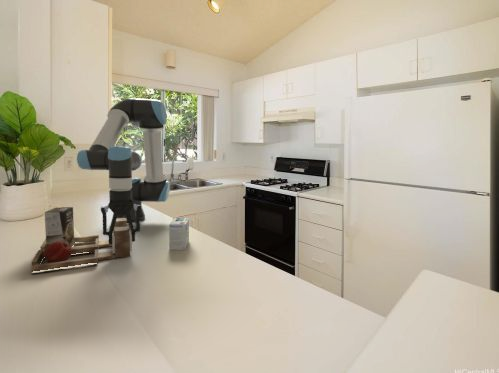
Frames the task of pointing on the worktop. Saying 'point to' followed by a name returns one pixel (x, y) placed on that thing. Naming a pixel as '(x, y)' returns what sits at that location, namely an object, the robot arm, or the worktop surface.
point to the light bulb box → (178, 234)
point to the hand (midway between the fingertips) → (122, 250)
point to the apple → (57, 252)
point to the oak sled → (94, 237)
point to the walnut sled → (120, 251)
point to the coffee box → (59, 225)
